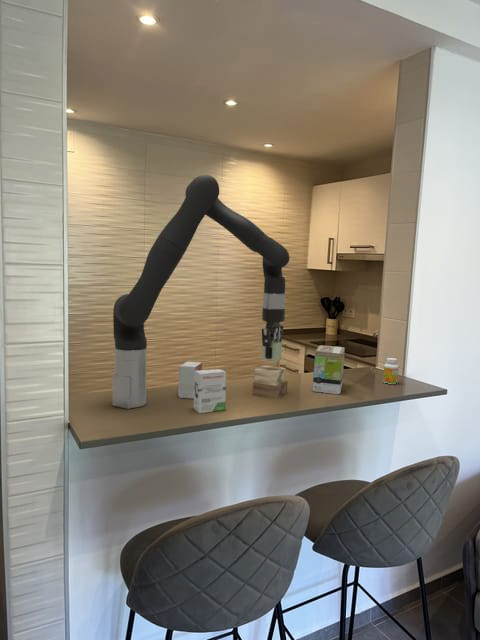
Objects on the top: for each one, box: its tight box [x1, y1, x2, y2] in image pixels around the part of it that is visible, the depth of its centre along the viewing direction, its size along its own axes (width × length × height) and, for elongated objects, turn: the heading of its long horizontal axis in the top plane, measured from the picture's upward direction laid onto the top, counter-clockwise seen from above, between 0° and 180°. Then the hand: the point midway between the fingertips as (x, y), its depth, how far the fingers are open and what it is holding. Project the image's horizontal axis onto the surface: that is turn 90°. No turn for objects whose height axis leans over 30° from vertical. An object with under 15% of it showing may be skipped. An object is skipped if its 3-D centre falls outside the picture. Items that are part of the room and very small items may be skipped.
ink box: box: [193, 368, 227, 414], centre depth 134 cm, size 9×5×12 cm, turn 116°
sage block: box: [261, 341, 283, 363], centre depth 153 cm, size 5×5×6 cm
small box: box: [178, 361, 203, 400], centre depth 149 cm, size 8×6×10 cm
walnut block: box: [252, 380, 288, 400], centre depth 154 cm, size 9×9×4 cm
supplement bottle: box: [382, 357, 399, 385], centre depth 175 cm, size 5×5×10 cm
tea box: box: [311, 344, 346, 395], centre depth 164 cm, size 15×10×15 cm
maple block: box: [253, 364, 287, 386], centre depth 154 cm, size 8×8×4 cm
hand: (271, 356), depth 153 cm, fingers closed on sage block, 5 cm apart
